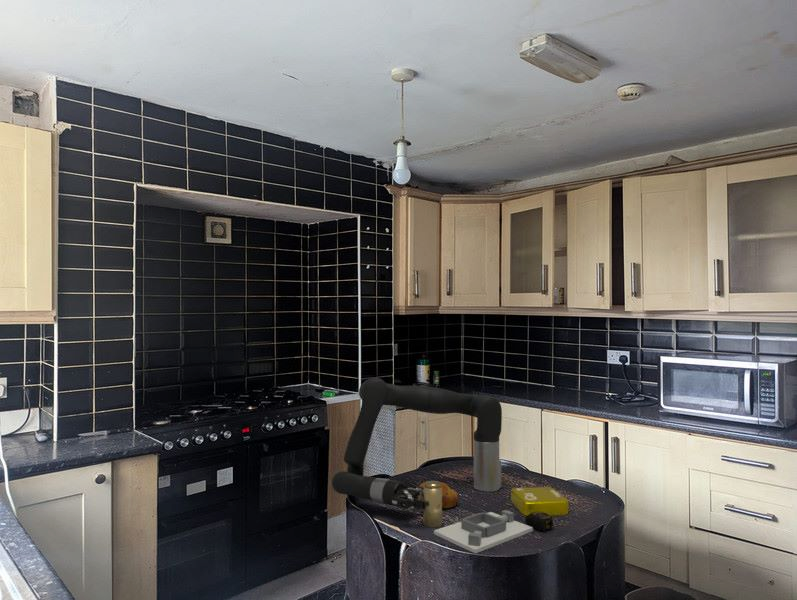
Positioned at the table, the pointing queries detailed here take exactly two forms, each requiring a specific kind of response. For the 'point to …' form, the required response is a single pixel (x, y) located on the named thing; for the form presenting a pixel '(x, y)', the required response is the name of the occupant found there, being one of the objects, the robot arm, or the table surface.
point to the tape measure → (539, 520)
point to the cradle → (483, 530)
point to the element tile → (539, 500)
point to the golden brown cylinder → (433, 504)
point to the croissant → (446, 496)
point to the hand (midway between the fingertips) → (432, 501)
